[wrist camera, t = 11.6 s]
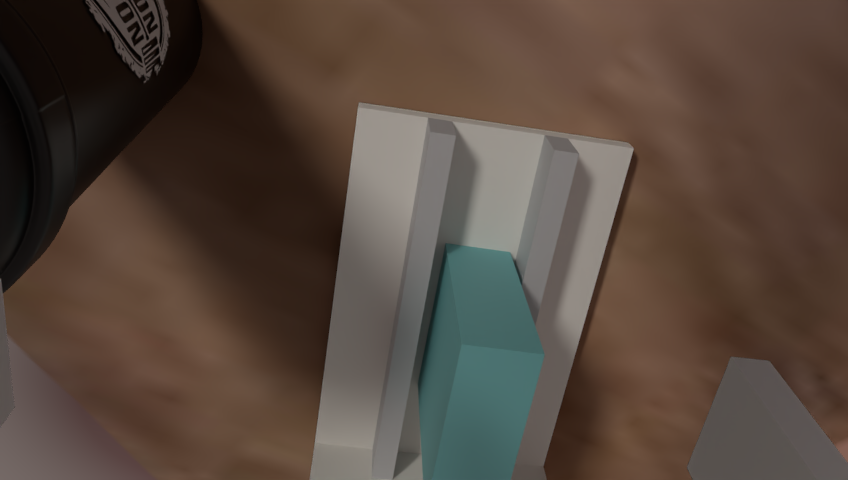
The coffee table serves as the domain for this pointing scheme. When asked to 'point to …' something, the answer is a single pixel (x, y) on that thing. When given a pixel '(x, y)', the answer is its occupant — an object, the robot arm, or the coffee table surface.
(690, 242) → the coffee table surface
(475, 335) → the teal sliding block
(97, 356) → the coffee table surface
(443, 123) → the track
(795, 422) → the robot arm
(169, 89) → the water bottle
